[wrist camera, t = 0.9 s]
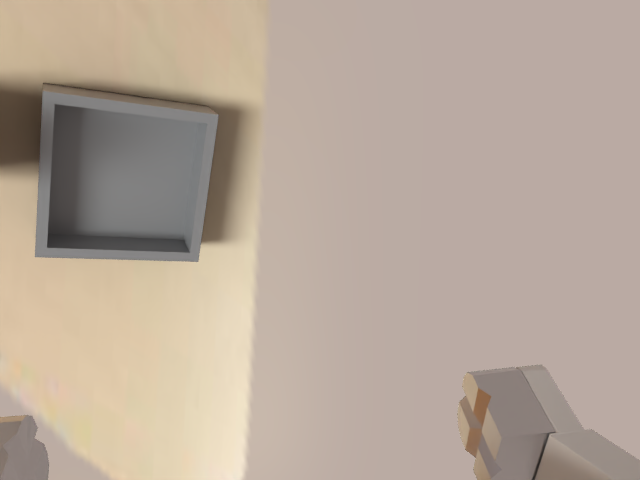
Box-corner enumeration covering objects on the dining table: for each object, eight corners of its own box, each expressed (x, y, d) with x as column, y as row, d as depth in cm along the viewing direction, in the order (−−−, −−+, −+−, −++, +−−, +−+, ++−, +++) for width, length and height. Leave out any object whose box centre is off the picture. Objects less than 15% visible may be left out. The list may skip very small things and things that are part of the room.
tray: (43, 82, 45) (42, 90, 42) (207, 106, 50) (218, 114, 47) (36, 238, 49) (34, 257, 46) (189, 244, 54) (198, 261, 51)
